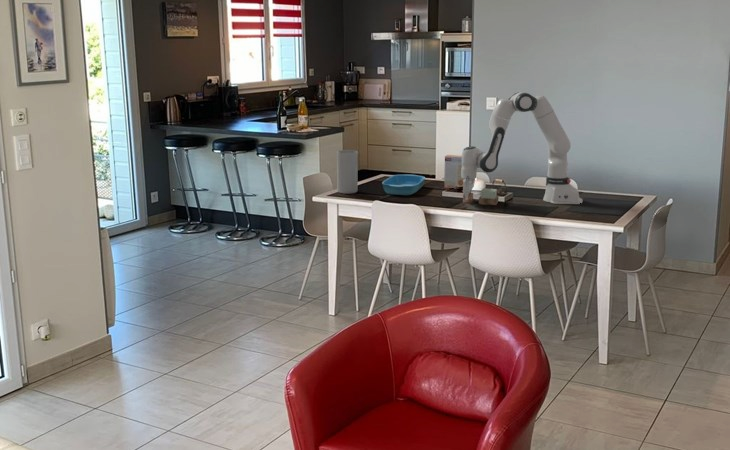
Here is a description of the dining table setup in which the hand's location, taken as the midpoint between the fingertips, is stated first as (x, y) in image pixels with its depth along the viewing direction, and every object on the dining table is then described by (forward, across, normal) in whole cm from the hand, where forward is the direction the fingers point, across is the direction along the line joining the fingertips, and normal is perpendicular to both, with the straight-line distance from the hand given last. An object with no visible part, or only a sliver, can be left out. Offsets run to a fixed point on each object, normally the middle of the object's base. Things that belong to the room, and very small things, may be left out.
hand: (468, 198), depth 467 cm
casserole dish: (+3, +21, +43) cm, 48 cm away
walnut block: (+3, 0, -12) cm, 12 cm away
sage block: (-1, 0, -12) cm, 12 cm away
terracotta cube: (+2, 0, 0) cm, 2 cm away
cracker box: (+2, +35, +13) cm, 37 cm away
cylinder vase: (+2, +7, +76) cm, 76 cm away
